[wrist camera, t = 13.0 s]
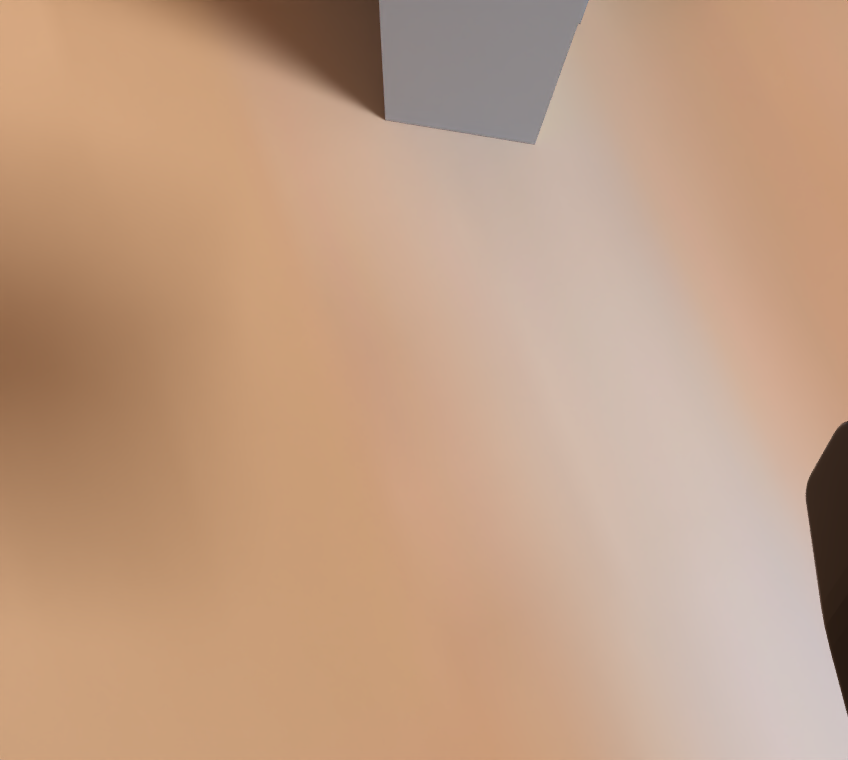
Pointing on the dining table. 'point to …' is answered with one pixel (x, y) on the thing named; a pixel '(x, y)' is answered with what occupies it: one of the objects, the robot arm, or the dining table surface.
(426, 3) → the tall grey prism
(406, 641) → the dining table surface
